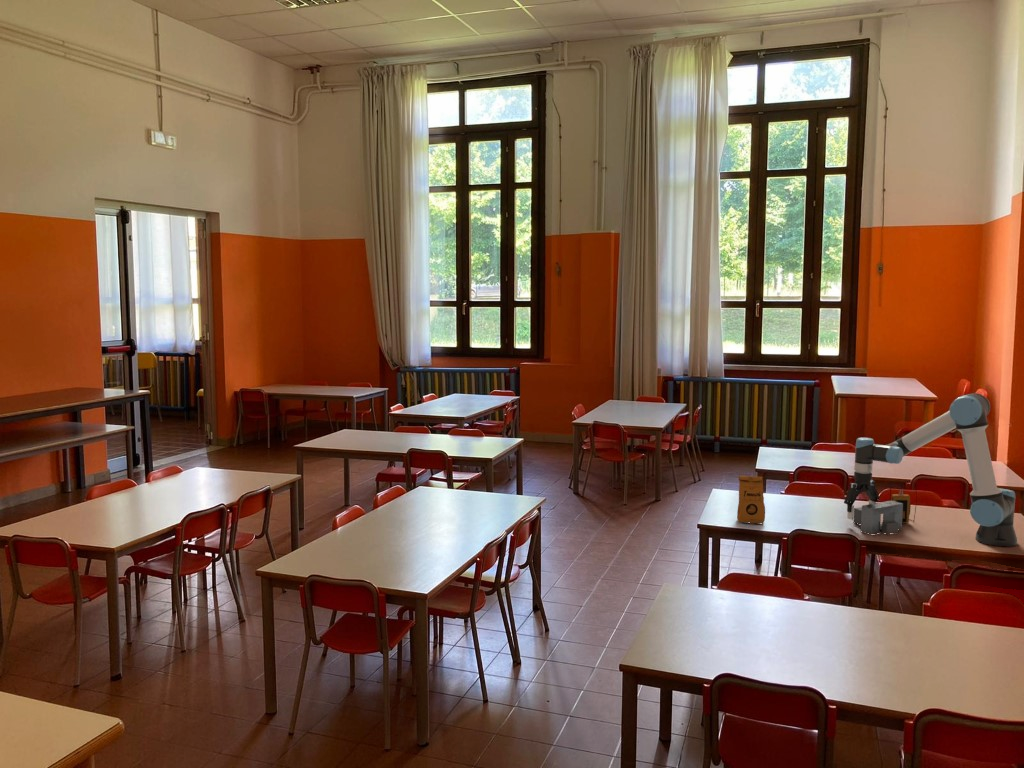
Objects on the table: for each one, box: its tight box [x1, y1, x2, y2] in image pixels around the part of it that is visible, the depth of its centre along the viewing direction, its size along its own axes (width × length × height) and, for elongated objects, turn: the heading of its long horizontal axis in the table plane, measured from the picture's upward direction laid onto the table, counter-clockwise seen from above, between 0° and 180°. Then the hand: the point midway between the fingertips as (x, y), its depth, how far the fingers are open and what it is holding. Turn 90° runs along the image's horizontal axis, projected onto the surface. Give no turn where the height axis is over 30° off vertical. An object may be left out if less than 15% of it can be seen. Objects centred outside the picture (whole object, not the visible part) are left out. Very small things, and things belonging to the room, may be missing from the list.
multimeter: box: [889, 480, 918, 524], centre depth 372 cm, size 15×10×20 cm
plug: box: [853, 506, 899, 534], centre depth 362 cm, size 20×7×7 cm, turn 18°
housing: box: [860, 499, 903, 535], centre depth 357 cm, size 6×19×12 cm, turn 116°
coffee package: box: [736, 475, 766, 524], centre depth 371 cm, size 10×12×22 cm
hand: (860, 516), depth 367 cm, fingers open, 13 cm apart
